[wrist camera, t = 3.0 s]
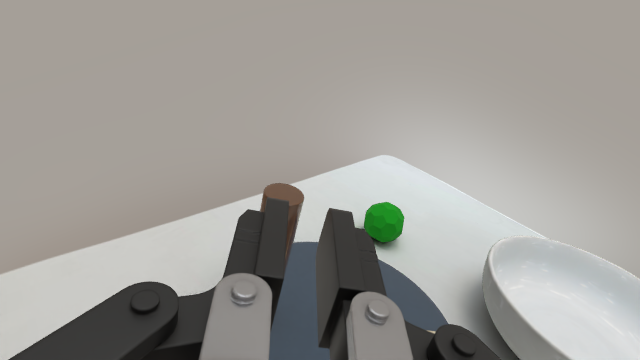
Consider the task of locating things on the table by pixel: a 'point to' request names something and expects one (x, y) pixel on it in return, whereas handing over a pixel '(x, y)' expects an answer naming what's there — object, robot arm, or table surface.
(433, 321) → the peg stand
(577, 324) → the serving bowl
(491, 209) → the table surface
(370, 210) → the polyhedron
